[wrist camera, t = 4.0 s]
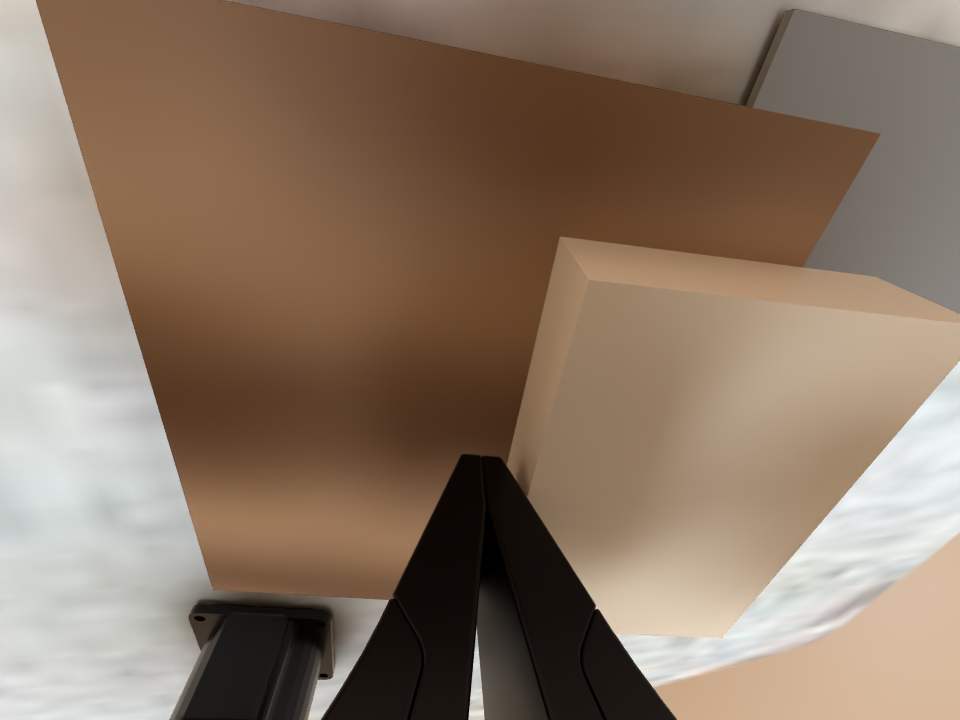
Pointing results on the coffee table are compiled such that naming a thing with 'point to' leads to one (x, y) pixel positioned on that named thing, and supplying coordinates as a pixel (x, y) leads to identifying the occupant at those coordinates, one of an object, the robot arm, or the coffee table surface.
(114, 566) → the coffee table surface
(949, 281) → the mat
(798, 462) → the cream rectangular block
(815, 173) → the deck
